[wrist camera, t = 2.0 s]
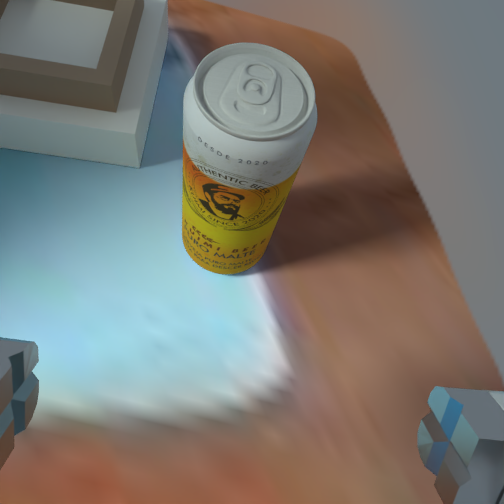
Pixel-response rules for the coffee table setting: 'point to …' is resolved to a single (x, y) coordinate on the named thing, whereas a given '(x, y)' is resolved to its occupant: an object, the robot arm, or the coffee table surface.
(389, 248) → the coffee table surface
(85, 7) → the display plinth
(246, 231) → the beer can
